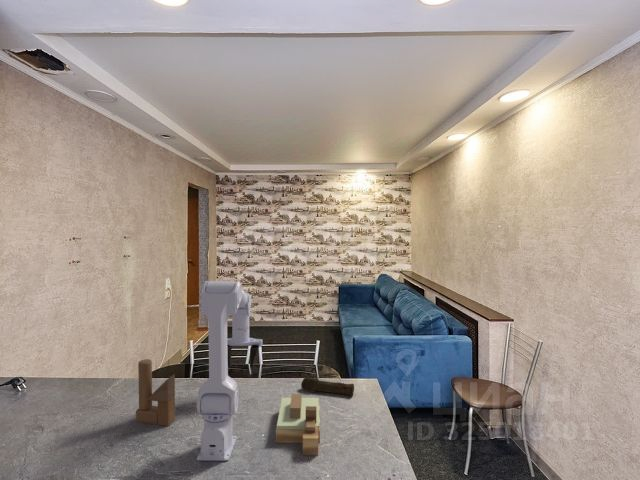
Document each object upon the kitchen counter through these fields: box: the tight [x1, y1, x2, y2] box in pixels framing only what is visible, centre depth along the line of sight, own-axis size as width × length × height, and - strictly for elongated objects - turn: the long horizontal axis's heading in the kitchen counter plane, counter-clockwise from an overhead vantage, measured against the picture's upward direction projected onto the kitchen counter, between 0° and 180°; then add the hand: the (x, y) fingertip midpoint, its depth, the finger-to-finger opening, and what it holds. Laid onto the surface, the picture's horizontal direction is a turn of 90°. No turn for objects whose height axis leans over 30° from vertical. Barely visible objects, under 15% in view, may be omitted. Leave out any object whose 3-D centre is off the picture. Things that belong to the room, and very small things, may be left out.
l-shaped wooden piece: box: [305, 406, 317, 432], centre depth 95 cm, size 6×3×4 cm, turn 1°
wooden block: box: [135, 358, 176, 427], centre depth 104 cm, size 4×11×18 cm, turn 79°
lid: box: [276, 393, 320, 430], centre depth 103 cm, size 15×12×4 cm
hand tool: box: [300, 376, 355, 398], centre depth 124 cm, size 19×4×5 cm, turn 75°
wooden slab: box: [275, 404, 321, 456], centre depth 100 cm, size 21×12×4 cm, turn 1°
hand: (240, 366), depth 120 cm, fingers open, 7 cm apart
